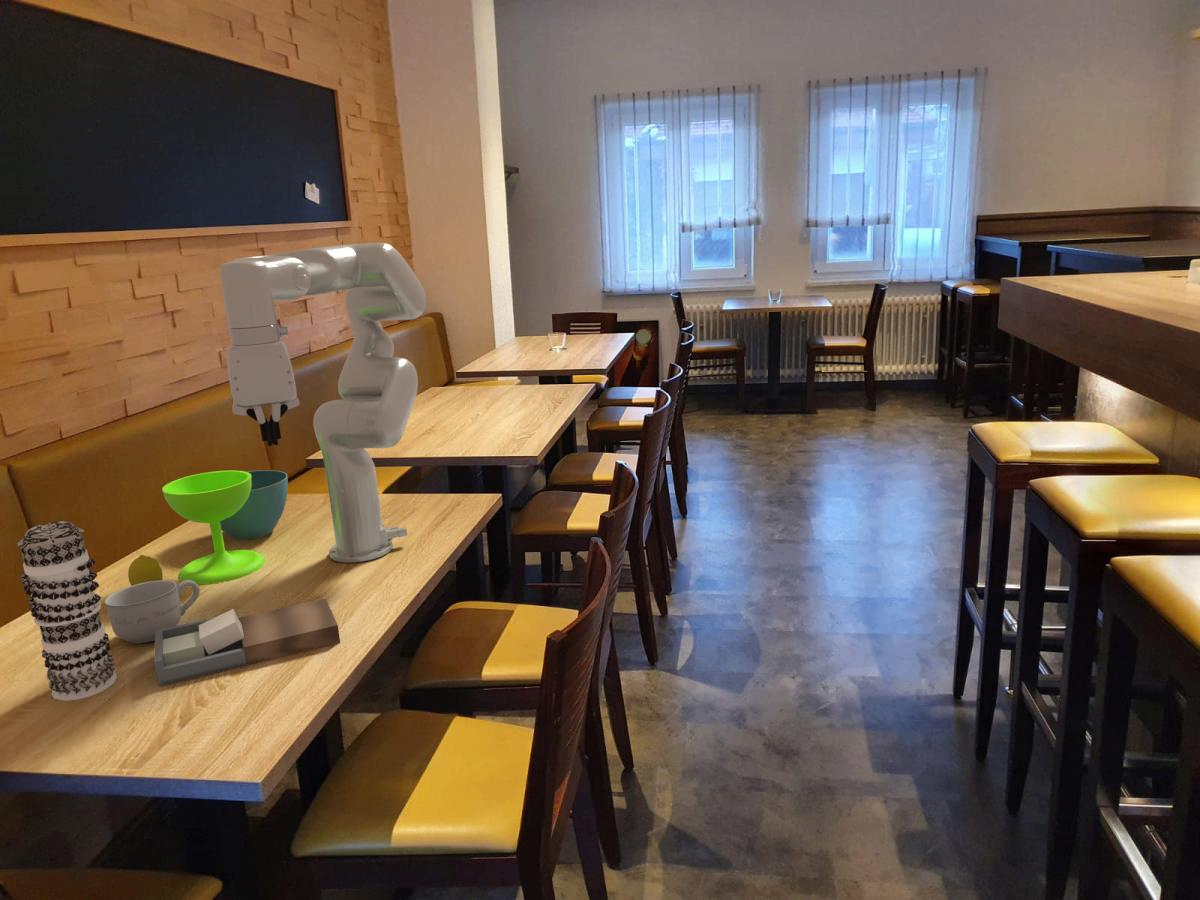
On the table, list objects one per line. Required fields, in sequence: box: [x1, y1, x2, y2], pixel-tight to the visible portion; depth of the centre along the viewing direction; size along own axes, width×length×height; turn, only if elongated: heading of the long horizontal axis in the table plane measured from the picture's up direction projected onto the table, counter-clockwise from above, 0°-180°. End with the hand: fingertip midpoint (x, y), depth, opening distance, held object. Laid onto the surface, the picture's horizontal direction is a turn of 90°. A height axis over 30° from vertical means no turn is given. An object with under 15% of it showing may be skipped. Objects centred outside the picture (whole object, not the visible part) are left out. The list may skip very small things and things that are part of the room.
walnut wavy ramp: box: [238, 597, 341, 666], centre depth 139 cm, size 14×12×3 cm
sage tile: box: [163, 631, 206, 666], centre depth 132 cm, size 6×6×3 cm
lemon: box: [127, 554, 164, 586], centre depth 159 cm, size 6×6×8 cm
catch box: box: [153, 611, 247, 688], centre depth 133 cm, size 12×12×4 cm
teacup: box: [104, 579, 201, 644], centre depth 143 cm, size 14×11×8 cm
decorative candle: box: [17, 520, 118, 702], centre depth 124 cm, size 9×9×25 cm
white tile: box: [199, 608, 244, 655], centre depth 134 cm, size 6×6×3 cm
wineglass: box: [161, 470, 266, 585], centre depth 169 cm, size 16×16×18 cm
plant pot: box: [220, 469, 289, 541], centre depth 189 cm, size 18×18×12 cm
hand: (272, 443), depth 147 cm, fingers closed
